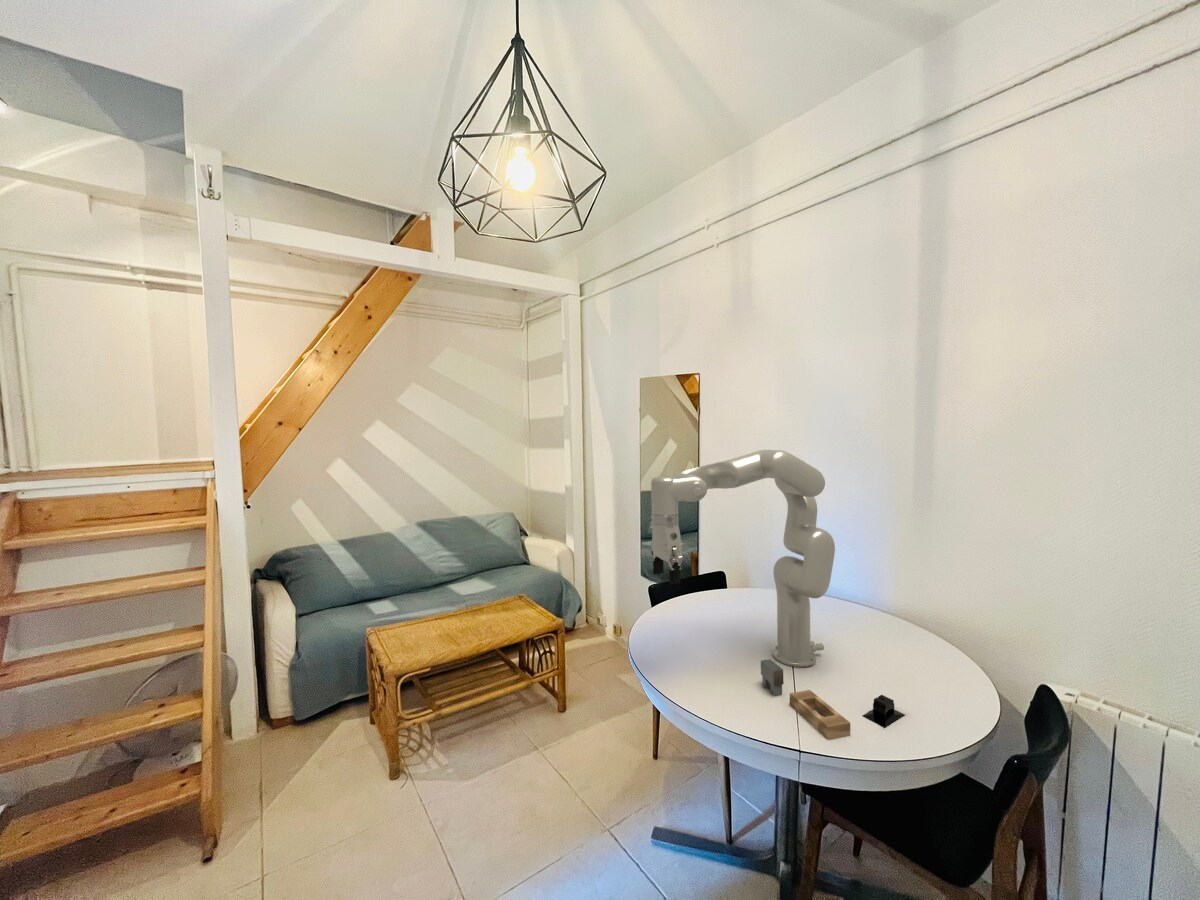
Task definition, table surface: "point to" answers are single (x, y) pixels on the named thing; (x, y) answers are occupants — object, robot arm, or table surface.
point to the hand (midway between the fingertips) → (666, 578)
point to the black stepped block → (883, 712)
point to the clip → (772, 676)
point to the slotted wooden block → (827, 725)
